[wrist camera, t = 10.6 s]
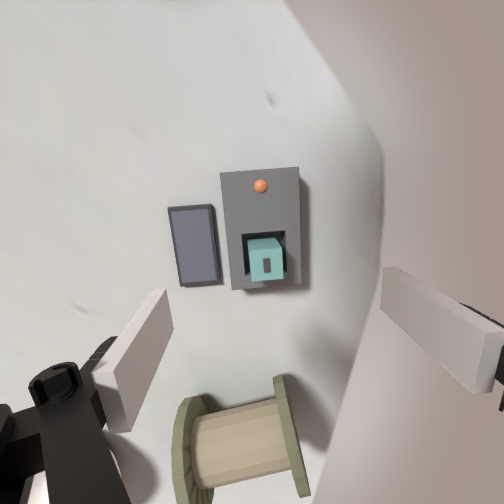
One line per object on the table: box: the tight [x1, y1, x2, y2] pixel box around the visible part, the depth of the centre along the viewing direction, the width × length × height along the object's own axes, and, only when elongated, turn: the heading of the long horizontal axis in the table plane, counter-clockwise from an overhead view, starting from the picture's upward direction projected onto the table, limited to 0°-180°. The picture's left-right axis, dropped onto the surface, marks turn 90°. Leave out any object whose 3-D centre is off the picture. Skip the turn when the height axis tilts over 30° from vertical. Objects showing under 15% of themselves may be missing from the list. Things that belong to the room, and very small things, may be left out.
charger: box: [247, 236, 284, 282], centre depth 34 cm, size 4×4×7 cm
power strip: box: [220, 167, 302, 290], centre depth 36 cm, size 16×10×4 cm, turn 4°
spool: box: [171, 375, 311, 504], centre depth 39 cm, size 16×15×15 cm
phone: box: [168, 204, 220, 287], centre depth 38 cm, size 6×12×1 cm, turn 4°
